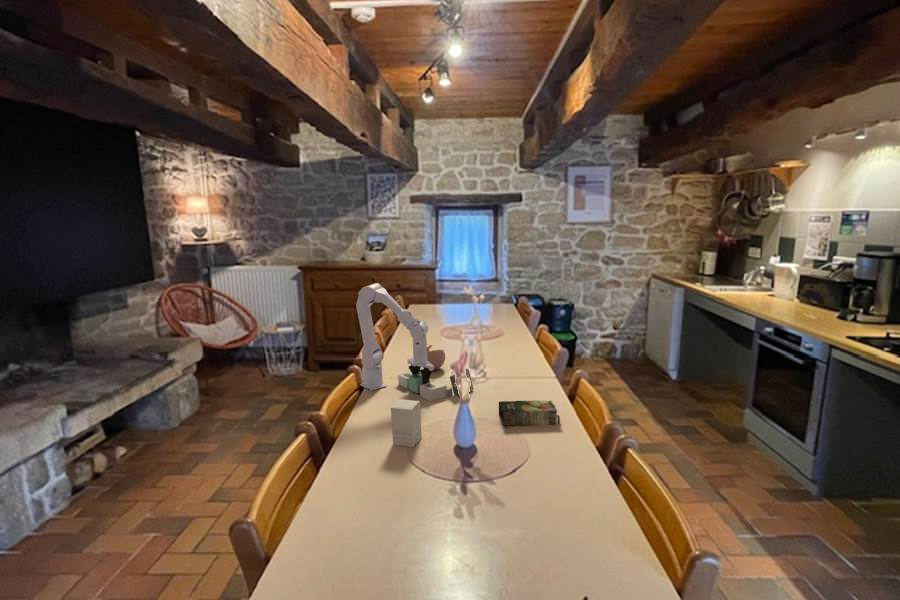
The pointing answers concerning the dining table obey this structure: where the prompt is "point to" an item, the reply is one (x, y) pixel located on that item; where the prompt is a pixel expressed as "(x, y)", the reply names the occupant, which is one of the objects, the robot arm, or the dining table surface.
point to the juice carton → (528, 413)
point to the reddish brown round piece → (435, 357)
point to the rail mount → (427, 387)
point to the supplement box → (406, 422)
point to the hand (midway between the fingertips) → (421, 383)
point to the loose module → (416, 382)
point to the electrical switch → (455, 384)
